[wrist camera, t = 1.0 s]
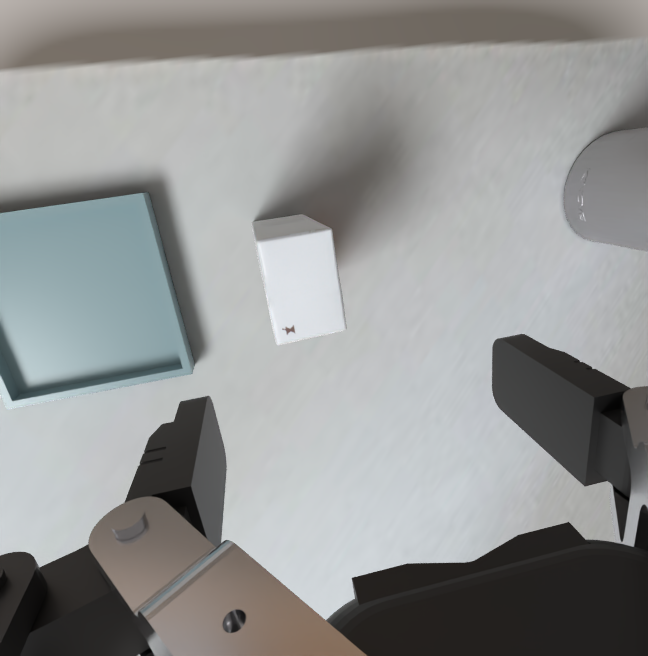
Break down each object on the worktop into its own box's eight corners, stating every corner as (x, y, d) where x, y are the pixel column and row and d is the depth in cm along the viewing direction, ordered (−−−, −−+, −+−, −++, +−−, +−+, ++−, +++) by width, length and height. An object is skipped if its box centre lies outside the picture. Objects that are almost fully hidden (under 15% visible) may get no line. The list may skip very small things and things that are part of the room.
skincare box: (316, 284, 35) (348, 334, 24) (265, 294, 35) (274, 349, 23) (304, 210, 33) (334, 226, 22) (250, 219, 32) (252, 240, 21)
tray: (148, 192, 31) (142, 192, 29) (194, 364, 35) (192, 373, 34) (-61, 221, 29) (-79, 224, 27) (18, 398, 34) (6, 409, 32)
